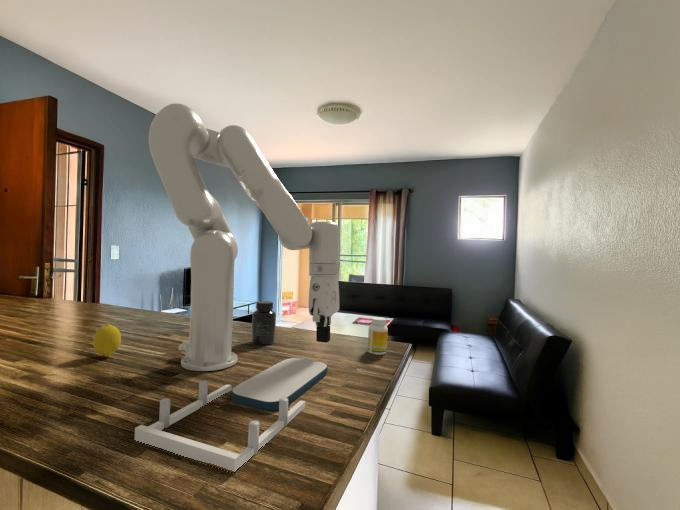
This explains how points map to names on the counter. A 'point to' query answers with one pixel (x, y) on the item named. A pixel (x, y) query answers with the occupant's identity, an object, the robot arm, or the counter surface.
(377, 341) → the supplement bottle
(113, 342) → the lemon
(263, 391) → the white blue rounded slab
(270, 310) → the supplement bottle
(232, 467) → the dock
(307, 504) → the counter surface
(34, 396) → the counter surface
